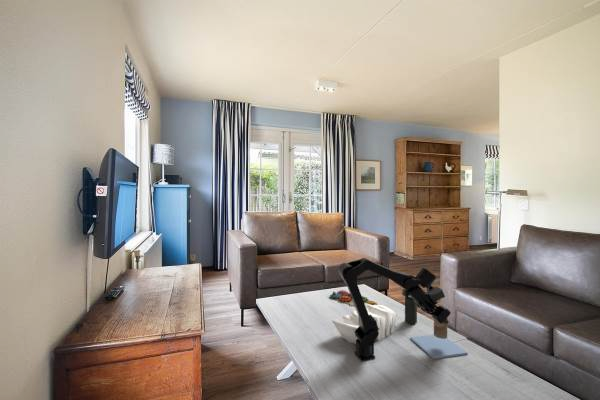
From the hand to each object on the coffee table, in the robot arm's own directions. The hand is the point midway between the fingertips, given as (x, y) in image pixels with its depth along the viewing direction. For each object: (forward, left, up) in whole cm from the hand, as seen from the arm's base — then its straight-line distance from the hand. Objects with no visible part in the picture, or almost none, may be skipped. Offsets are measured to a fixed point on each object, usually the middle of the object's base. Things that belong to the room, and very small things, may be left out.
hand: (443, 320), depth 120 cm
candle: (+3, +25, -13) cm, 28 cm away
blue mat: (-1, +2, -12) cm, 13 cm away
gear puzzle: (-12, +60, -13) cm, 62 cm away
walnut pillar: (-1, 0, -7) cm, 7 cm away
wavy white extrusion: (-24, +22, -13) cm, 35 cm away
